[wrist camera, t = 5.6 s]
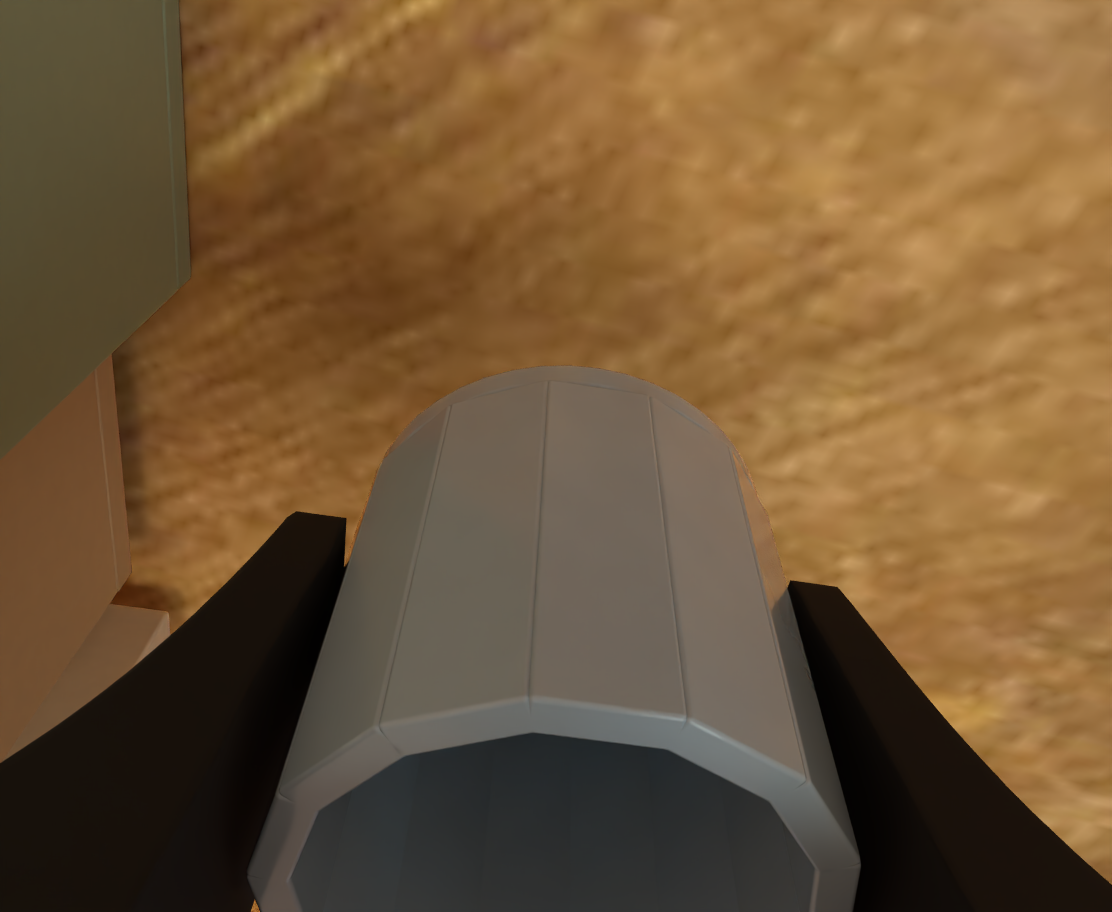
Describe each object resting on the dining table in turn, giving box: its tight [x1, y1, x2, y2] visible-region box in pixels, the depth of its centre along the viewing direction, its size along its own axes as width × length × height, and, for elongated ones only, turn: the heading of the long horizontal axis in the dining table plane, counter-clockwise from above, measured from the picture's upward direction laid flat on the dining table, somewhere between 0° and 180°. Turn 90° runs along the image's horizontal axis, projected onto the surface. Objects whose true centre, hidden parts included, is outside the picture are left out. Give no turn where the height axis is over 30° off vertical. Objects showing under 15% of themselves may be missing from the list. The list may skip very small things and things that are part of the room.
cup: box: [246, 365, 861, 912], centre depth 11 cm, size 5×6×6 cm
